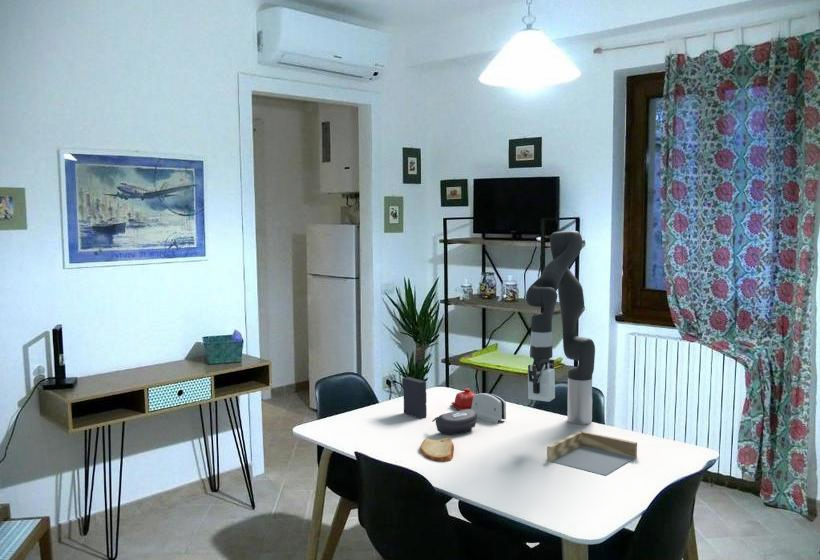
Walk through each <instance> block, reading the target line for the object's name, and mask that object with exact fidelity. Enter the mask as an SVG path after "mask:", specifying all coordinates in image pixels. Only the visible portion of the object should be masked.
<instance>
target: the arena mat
mask: <svg viewBox="0 0 820 560" xmlns="http://www.w3.org/2000/svg"><path fill="white" fill-rule="evenodd" d="M635 459H636V458H635V457H631V456H627V455H622V454H618V453H613V452H609V451H605V450H600V449H596V448H591V447H587V446H580V447H578V448H576V449H574V450H572V451H570V452H568V453H566V454H564V455H562V456H560V457H559V458H557V459H555V460H553V461H551V462H550V463H554V464H558V465H562V466H565V467H570V468H574V469H577V470H581V471H585V472H590V473H594V474H596V475H601V476H605V477H607V476H608V475H610V474H612V473H613V472H615V471H616V470H618V469H620V468H622V467H623V466H625V465H626V464H628V463H630V462H631V461H633V460H635Z"/></svg>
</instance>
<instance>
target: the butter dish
mask: <svg viewBox="0 0 820 560" xmlns="http://www.w3.org/2000/svg"><path fill="white" fill-rule="evenodd" d="M476 394H477V393H475V392H473V391H471V388H468V387H466V388H464V389H463V391H460V392H458V393H456V394H455V397H454V401H452V402H451V405H452V406H453V407H455V409H457V410H458V411H460V410H465V409H471V407H472V402H473V396H474V395H476Z"/></svg>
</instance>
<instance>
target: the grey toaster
mask: <svg viewBox="0 0 820 560" xmlns="http://www.w3.org/2000/svg"><path fill="white" fill-rule="evenodd" d="M475 394H476V395H474V396H473V402H472V407H471V410H473V411H475V412H476V414H477V417H478V419H481V420H485V421H487V422H491V423H494V424H499V421H503V420H507V408H506V407H507V405H506V401H505V400H504V399H503V398H501V397H500V396H498V395H496V394H492V393H490V392H489V393H487V392H484V393H482V392H481V393H475Z"/></svg>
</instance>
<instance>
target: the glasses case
mask: <svg viewBox="0 0 820 560" xmlns="http://www.w3.org/2000/svg"><path fill="white" fill-rule="evenodd" d="M478 420H479V418H478V417H477V414H476V412H475V411H473V410H471V409H465V410H457V411H456V410H455V411H451V412H447V413H442V414H440V415H438V416H436V417H435V418H434V419H433V420H432V421H431V422H432V423H433V422H434V423H435V426H436V430H437V432H439V433H440V434H443V435H456V434H463V433H466V432H469V431H471V430H472V429H473V428H475V427H476V424H477V422H478Z"/></svg>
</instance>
